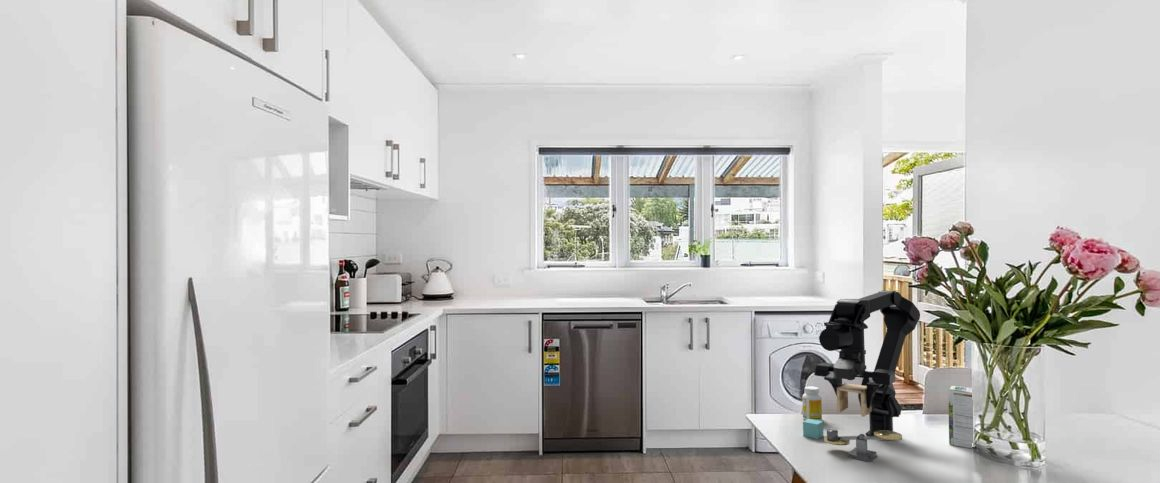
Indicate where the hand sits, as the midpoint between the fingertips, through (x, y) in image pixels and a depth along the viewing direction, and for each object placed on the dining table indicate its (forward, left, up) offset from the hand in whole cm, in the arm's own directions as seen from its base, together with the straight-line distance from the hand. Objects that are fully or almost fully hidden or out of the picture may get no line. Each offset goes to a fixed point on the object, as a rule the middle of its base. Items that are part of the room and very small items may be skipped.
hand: (854, 405), depth 147 cm
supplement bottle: (-15, -17, -10) cm, 25 cm away
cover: (0, 0, -2) cm, 2 cm away
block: (0, -11, -10) cm, 15 cm away
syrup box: (-18, +21, -10) cm, 29 cm away
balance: (+8, +4, -10) cm, 13 cm away
